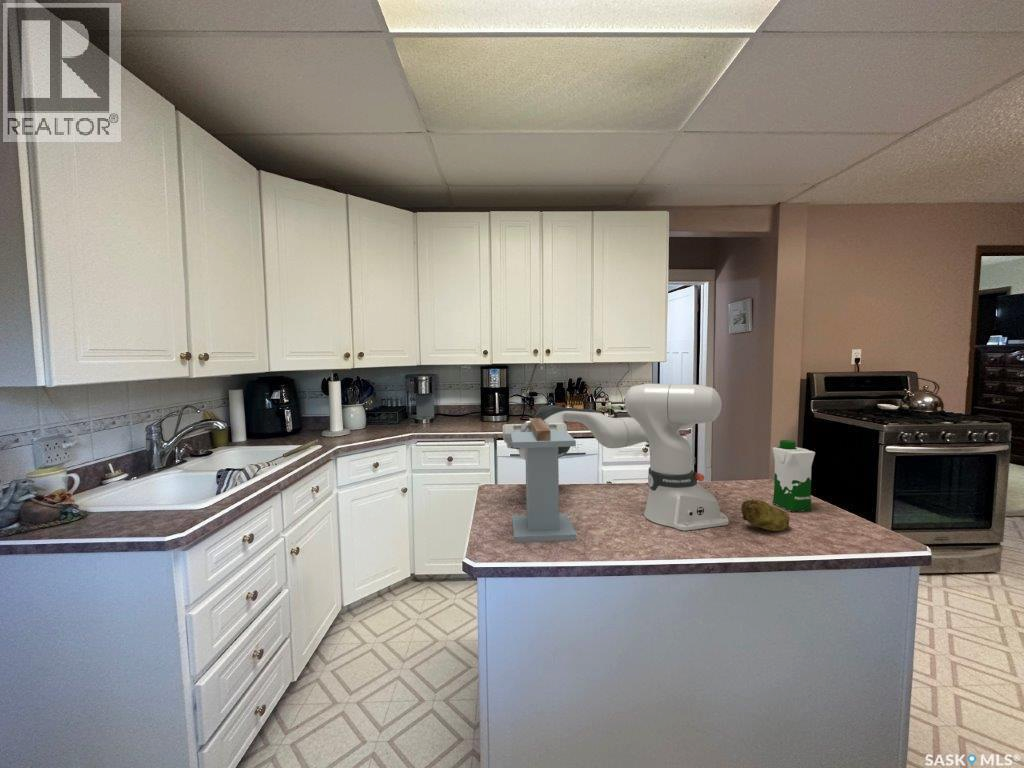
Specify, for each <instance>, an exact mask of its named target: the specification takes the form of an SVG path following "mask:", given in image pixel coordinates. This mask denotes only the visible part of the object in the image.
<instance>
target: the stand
mask: <svg viewBox="0 0 1024 768" xmlns="http://www.w3.org/2000/svg"><path fill="white" fill-rule="evenodd" d="M550 433H551V440H546V441H537V440H536V438H535V436H534V434H533V432H510V437H511V442H512V446H513V448H525V456H526V460H525V501H526V502H525V503H526V505H525V506H526V512H525V513H526V514H517V515H515V514H514V515H511V524H512V531H513V540H514V543H534V542H558V541H559V542H560V541H562V542H563V541H564V542H565V541H577V539H578V538H577V533H576V531H575V529H574V526H573V524H572V522H571V520H570V518H569V516H568V513H567V512H566V513H560V501H559V500H560V491H559V490H560V488H559V486H560V484H559V483H560V482H559V481H560V480H559V477H560V473H559V472H560V471H559V458H558V447H570V448H572V447H576V446H577V444H576V443H577V440H576V439H575V438H574V437H573V436H572V435H571V434H570V433H568V430H567V431H550Z"/></svg>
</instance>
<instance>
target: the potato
mask: <svg viewBox="0 0 1024 768" xmlns="http://www.w3.org/2000/svg"><path fill="white" fill-rule="evenodd" d="M740 507H741V508H740V511H741V514H742V520H744V521H746V522H748V523H749V524H750V525H751V526H755V527H758V528H762V529H763V530H765V531H769V532H780V531H783V530H785V529H787V528H788V526H789V524H790V520H791V519H790V515H789V514H788V513H787V512H785V511H784V509H783V510H782V508H781V509H780V508H778V507H774V506H772V505H771V504H769V503H768V502H766V501H763V500H761V499H754V498H752V499H748V500H745V501H743V503H742V504H741V506H740Z"/></svg>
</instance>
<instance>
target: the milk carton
mask: <svg viewBox="0 0 1024 768" xmlns="http://www.w3.org/2000/svg"><path fill="white" fill-rule="evenodd" d="M772 453H773V459H774V480H773V481H774V484H773V486H774V487H773V495H772V496H773V497H772V504H773V503H775V504H777V505H779V506H781V507H783V508H785V509H787V510H790V511H801V512H803V511H802V510H812V511H813V508H812V507H813V506H812V497H811V496H812V494H811V493H812V492H811V491H812V489H811V488H812V466H813V462H814V458H815V455H816V452H815V451H813V450H809V449H807V448H803V447H797V446H796V441H794V440H787V439H781V440H780V441H779V446H775V447H772ZM781 507H780V508H781ZM783 508H782V509H783ZM785 509H784V510H785ZM787 510H786V511H787ZM790 511H789V512H790Z"/></svg>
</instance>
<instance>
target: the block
mask: <svg viewBox="0 0 1024 768" xmlns="http://www.w3.org/2000/svg"><path fill="white" fill-rule="evenodd" d="M528 421H531V430H532V432H533V434H534V436H535V438H536V440H537V441H546V440H551V433H550V429H549V428H548V427H547V426H546V424H545V423H544V422H543V421H542V419H541V418H534V417H532V418H531V417H529V419H528Z"/></svg>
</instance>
